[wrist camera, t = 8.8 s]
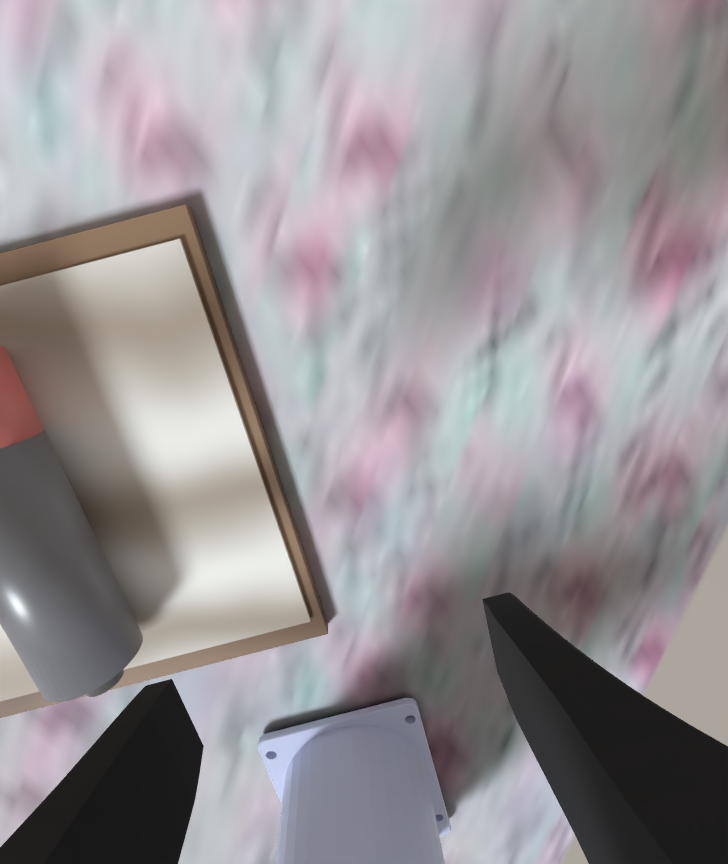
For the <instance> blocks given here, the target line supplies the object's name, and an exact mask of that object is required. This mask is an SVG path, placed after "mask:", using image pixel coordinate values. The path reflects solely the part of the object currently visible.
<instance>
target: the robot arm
mask: <svg viewBox="0 0 728 864" xmlns="http://www.w3.org/2000/svg"><path fill="white" fill-rule="evenodd" d="M483 604H484V608H485V613H486V618H487V623H488V628H489V633H490V638H491V643H492V648H493V652H494V657H495V662H496V667H497V671H498V674H499V676H500V679H501V682H502V684H503V687H504V689H505V692H506V694H507V697H508V700H509V702H510V705H511V707H512V710H513V712H514V715H515V717H516V719H517V721H518V723H519V725H520V727H521V729H522V731H523V733H524V735H525V737H526V739H527V741H528V743H529V745H530V747H531V749H532V751H533V753H534V755H535V757H536V759H537V761H538V763H539V765H540V767H541V769H542V771H543V773H544V774H545V776H546V778H547V780H548V782H549V784H550V786H551V788H552V790H553V792H554V794H555V796H556V798H557V800H558V802H559V804H560V806H561V808H562V810H563V812H564V814H565V816H566V818H567V820H568V821H569V823H570V825H571V827H572V829H573V831H574V833H575V835H576V837H577V839H578V842H579V844H580V846H581V848H582V850H583V852H584V854H585V856H586V858H587V861H588V863H589V864H728V746H726V745H724V744H722V743H721V742H719V741H717V740H715V739H714V738H712V737H710V736H708V735H707V734H705V733H703V732H701V731H700V730H698V729H696V728H695V727H693V726H691V725H689V724H688V723H686V722H684V721H683V720H681V719H679V718H678V717H676V716H675V715H673V714H671V713H669V712H668V711H666V710H665V709H663V708H661V707H660V706H658V705H657V704H655V703H653V702H652V701H650V700H649V699H647V698H646V697H644V696H643V695H641V694H640V693H638V692H637V691H635V690H634V689H632V688H631V687H629V686H628V685H626V684H625V683H624V682H622V681H621V680H619V679H618V678H616V677H615V676H614V675H612V674H611V673H609V672H608V671H606V670H605V669H604V668H602V667H601V666H600V665H598V664H597V663H595V662H594V661H593V660H591V659H590V658H589V657H587V656H586V655H585V654H584V653H582V652H581V651H580V650H578V649H577V648H576V647H574V646H573V645H572V644H571V643H569V642H568V641H567V640H565V639H564V638H563V637H562V636H560V635H559V634H558V633H557V632H556V631H554V630H553V629H552V628H551V627H550V626H548V625H547V624H546V623H545V622H544V621H542V620H541V619H540V618H539V617H538V616H537V615H535V614H534V613H533V612H532V611H531V610H530V609H529V608H528V607H526V606H525V605H524V604H523V603H522V602H521V601H520V600H519V599H518V598H517V597H516V596H514V595H513V594H511V593H505V594H501V595H497V596H493V597H489V598H485V599H483ZM409 715H412V716H410V717H407V716H409ZM258 750H259V752H260V755H261V757H262V759H263V762H264V764H265V766H266V769H267V771H268V773H269V776H270V778H271V780H272V783H273V785H274V787H275V790H276V792H277V794H278V797H279V799H280V802H281V804H282V807H281V817H280V827H279V837H278V847H277V857H276V864H445V862H444V857H443V852H442V847H441V842H440V837H444V836H446V835H448V834H449V833H450V831H451V825H450V821H449V817H448V814H447V810H446V807H445V803H444V799H443V796H442V792H441V788H440V785H439V781H438V778H437V774H436V770H435V767H434V763H433V760H432V756H431V752H430V749H429V745H428V742H427V738H426V734H425V731H424V727H423V724H422V720H421V716H420V713H419V709H418V706H417V703H416V701H415V700H414V699H412V698H403V699H399V700H395V701H391V702H387V703H383V704H379V705H375V706H371V707H367V708H363V709H360V710H356V711H352V712H348V713H344V714H340V715H336V716H332V717H328V718H324V719H321V720H317V721H313V722H309V723H305V724H301V725H297V726H293V727H289V728H285V729H282V730H278V731H274V732H270V733H266V734H264V735H262V736H261V737H260V739H259V742H258ZM271 751H273V752H271ZM202 752H203V744H202V742H201V740H200V738H199V736H198V733H197V731H196V729H195V727H194V725H193V723H192V721H191V719H190V716H189V714H188V712H187V710H186V708H185V706H184V704H183V702H182V700H181V697H180V695H179V693H178V691H177V689H176V687H175V685H174V683H173V680H172V679H170V680H166V681H163V682H159V683H155V684H151V685H147V686H145V687H144V688H143V689H142V690H141V691H140V692H139V693H138V694H137V696H136V697H135V698H134V699H133V700H132V701H131V702H130V703H129V704H128V705H127V707H126V708H125V709H124V710H123V711H122V712H121V713H120V715H119V716H118V717H117V718H116V719H115V720H114V721H113V723H112V724H111V725H110V726H109V727H108V728H107V729H106V731H105V732H104V733H103V734H102V735H101V736H100V738H99V739H98V740H97V741H96V742H95V743H94V744H93V746H92V747H91V748H90V749H89V750H88V751H87V752H86V754H85V755H84V756H83V757H82V758H81V759H80V761H79V762H78V763H77V764H76V765H75V766H74V767H73V769H72V770H71V771H70V772H69V773H68V774H67V775H66V777H65V778H64V779H63V780H62V781H61V782H60V783H59V784H58V786H57V787H56V788H55V789H54V790H53V791H52V792H51V793H50V794H49V795H48V796H47V797H46V799H45V800H44V801H43V802H42V803H41V804H40V805H39V806H38V807H37V808H36V809H35V811H34V812H33V813H32V814H31V815H30V816H29V817H28V818H27V819H26V820H25V821H24V822H23V824H22V825H21V826H20V827H19V828H18V829H17V830H16V831H15V832H14V833H13V834H12V835H11V837H10V838H9V839H8V840H7V841H6V842H5V843H4V844H3V845H2V846H1V847H0V864H178V861H179V857H180V854H181V850H182V846H183V843H184V839H185V835H186V831H187V828H188V824H189V820H190V817H191V813H192V809H193V805H194V801H195V796H196V790H197V785H198V779H199V773H200V766H201V759H202Z"/></svg>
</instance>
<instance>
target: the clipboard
mask: <svg viewBox="0 0 728 864" xmlns="http://www.w3.org/2000/svg"><path fill="white" fill-rule="evenodd" d="M0 346H5V348H6V350H7V352H8V354H9V356H10V358H11V360H12V362H13V365H14V367H15V369H16V371H17V373H18V375H19V377H20V379H21V381H22V383H23V385H24V388H25V390H26V392H27V394H28V396H29V398H30V400H31V402H32V404H33V406H34V409H35V411H36V413H37V415H38V417H39V419H40V421H41V423H42V425H43V427H44V429H45V432H46V434H47V436H48V438H49V440H50V442H51V444H52V446H53V448H54V450H55V453H56V455H57V457H58V459H59V461H60V463H61V465H62V467H63V469H64V471H65V473H66V476H67V478H68V480H69V482H70V484H71V486H72V488H73V490H74V492H75V494H76V497H77V499H78V501H79V503H80V505H81V507H82V509H83V511H84V513H85V515H86V517H87V520H88V522H89V524H90V526H91V528H92V530H93V532H94V534H95V536H96V538H97V541H98V543H99V545H100V547H101V549H102V551H103V553H104V555H105V557H106V559H107V562H108V564H109V566H110V568H111V570H112V572H113V574H114V576H115V578H116V580H117V582H118V585H119V587H120V589H121V591H122V593H123V595H124V597H125V599H126V601H127V603H128V606H129V608H130V610H131V612H132V614H133V616H134V618H135V620H136V622H137V624H138V626H139V629H140V631H141V633H142V635H143V642H142V645H141V647H140V649H139V651H138V653H137V654H136V656H135V657H134V658H133V660H132V661H131V662H130V663H129V664H128V665H127V666H126V667H125V668H124V669H123V670H124V673H123V676H122V678H121V679H120V680H119V682H118V683H117V684H116V685H115V686H114V687H112V688H111V689H115V688H119V687H123V686H127V685H131V684H135V683H138V682H142V681H146V680H150V679H154V678H158V677H162V676H166V675H170V674H173V673H177V672H181V671H185V670H189V669H193V668H197V667H201V666H205V665H208V664H212V663H216V662H220V661H224V660H228V659H232V658H236V657H239V656H243V655H247V654H251V653H255V652H259V651H263V650H267V649H271V648H274V647H278V646H282V645H286V644H290V643H294V642H298V641H302V640H306V639H309V638H313V637H317V636H321V635H325V634H328V623H327V620H326V617H325V614H324V611H323V608H322V605H321V602H320V599H319V596H318V593H317V590H316V587H315V584H314V581H313V578H312V575H311V572H310V569H309V566H308V563H307V559H306V556H305V553H304V550H303V547H302V544H301V541H300V538H299V535H298V532H297V529H296V526H295V523H294V520H293V517H292V514H291V511H290V508H289V505H288V502H287V499H286V496H285V493H284V490H283V487H282V484H281V481H280V478H279V475H278V472H277V468H276V465H275V462H274V459H273V456H272V453H271V450H270V447H269V444H268V441H267V438H266V435H265V432H264V429H263V426H262V423H261V420H260V417H259V414H258V411H257V408H256V405H255V402H254V399H253V396H252V393H251V390H250V387H249V384H248V381H247V377H246V374H245V371H244V368H243V365H242V362H241V359H240V356H239V353H238V350H237V347H236V344H235V341H234V338H233V335H232V332H231V329H230V326H229V323H228V320H227V317H226V314H225V311H224V308H223V305H222V302H221V299H220V296H219V293H218V290H217V286H216V283H215V280H214V277H213V274H212V271H211V268H210V265H209V262H208V259H207V256H206V253H205V250H204V247H203V244H202V241H201V238H200V235H199V232H198V229H197V226H196V223H195V220H194V217H193V214H192V211H191V208H190V207H188V206H187V205H181V206H177V207H174V208H170V209H166V210H162V211H159V212H155V213H151V214H147V215H143V216H140V217H136V218H132V219H128V220H124V221H121V222H117V223H113V224H109V225H105V226H102V227H98V228H94V229H90V230H87V231H83V232H79V233H75V234H71V235H68V236H64V237H60V238H56V239H52V240H49V241H45V242H41V243H37V244H33V245H30V246H26V247H22V248H18V249H15V250H11V251H7V252H3V253H0ZM111 689H110V690H111ZM84 696H87V695H86V694H85V695H83V696H81V697H84ZM78 698H80V697H78ZM75 699H76V698H75ZM64 702H65V701H64ZM57 703H61V702H49V701H47V700H45V699H44V698H43V697H42V695H41V693H40V691H39V690H38V688H37V686H36V685H35V683H34V681H33V679H32V678H31V676H30V674H29V673H28V671H27V669H26V667H25V666H24V664H23V662H22V661H21V659H20V657H19V655H18V654H17V652H16V650H15V649H14V647H13V645H12V643H11V642H10V640H9V638H8V637H7V635H6V633H5V631H4V630H3V628H2V626H1V625H0V718H2V717H6V716H10V715H14V714H18V713H22V712H26V711H30V710H34V709H37V708H41V707H45V706H49V705H53V704H57Z"/></svg>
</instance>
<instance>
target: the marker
mask: <svg viewBox="0 0 728 864" xmlns="http://www.w3.org/2000/svg"><path fill="white" fill-rule="evenodd" d="M0 625H1V626H2V628H3V630H4V631H5V633H6V635H7V637H8V638H9V640H10V642H11V643H12V645H13V647H14V649H15V650H16V652H17V654H18V655H19V657H20V659H21V661H22V662H23V664H24V666H25V667H26V669H27V671H28V673H29V674H30V676H31V678H32V679H33V681H34V683H35V685H36V686H37V688H38V690H39V691H40V693H41V695H42V697H43V698H44V699H45V700H47V701H49V702H64V701H69V700H72V699H75V698H78V697H81V696H83V695H85V694H86V695H87V696H89V697H94V696H98V695H101V694H103V693H105V692H106V691H108V690H110V689H111V688H112V687H114V686H115V685H116V684H117V683H118V682H119V680H120V679H121V678H122V676H123V673H124V670H123V669H124V668H125V667H126V666H127V665H128V664H129V663H130V662H131V661H132V660H133V658H134V657H135V656H136V654H137V653H138V651H139V649H140V647H141V645H142V642H143V635H142V633H141V631H140V629H139V626H138V624H137V622H136V620H135V618H134V616H133V614H132V612H131V610H130V608H129V606H128V603H127V601H126V599H125V597H124V595H123V593H122V591H121V589H120V587H119V585H118V582H117V580H116V578H115V576H114V574H113V572H112V570H111V568H110V566H109V564H108V562H107V559H106V557H105V555H104V553H103V551H102V549H101V547H100V545H99V543H98V541H97V538H96V536H95V534H94V532H93V530H92V528H91V526H90V524H89V522H88V520H87V517H86V515H85V513H84V511H83V509H82V507H81V505H80V503H79V501H78V499H77V497H76V494H75V492H74V490H73V488H72V486H71V484H70V482H69V480H68V478H67V476H66V473H65V471H64V469H63V467H62V465H61V463H60V461H59V459H58V457H57V455H56V453H55V450H54V448H53V446H52V444H51V442H50V440H49V438H48V436H47V434H46V432H45V429H44V427H43V425H42V423H41V421H40V419H39V417H38V415H37V413H36V411H35V409H34V406H33V404H32V402H31V400H30V398H29V396H28V394H27V392H26V390H25V388H24V385H23V383H22V381H21V379H20V377H19V375H18V373H17V371H16V369H15V367H14V365H13V362H12V360H11V358H10V356H9V354H8V352H7V350H6V348H5V346H0Z"/></svg>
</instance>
